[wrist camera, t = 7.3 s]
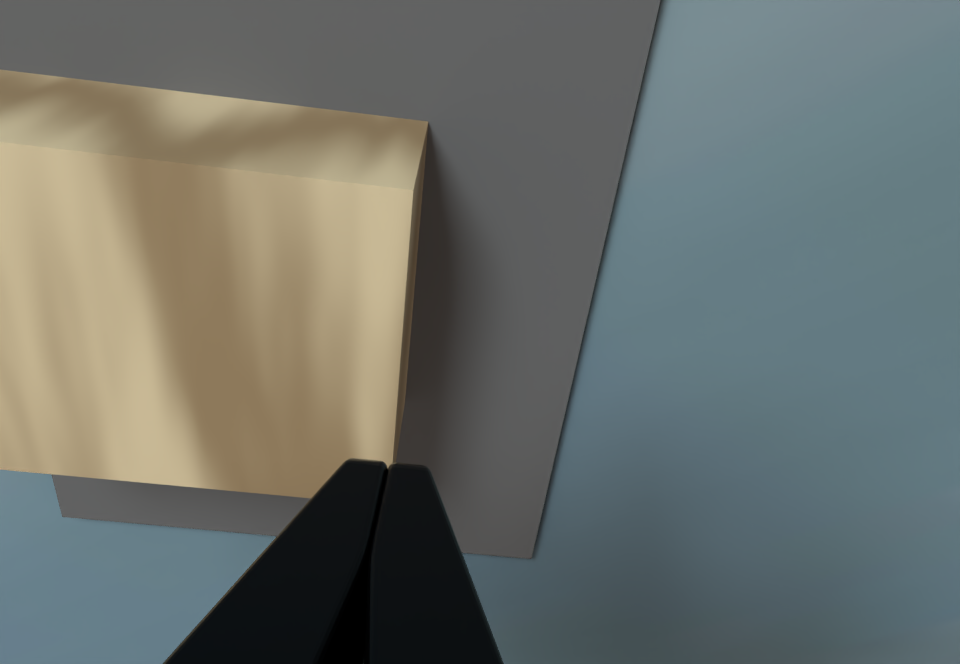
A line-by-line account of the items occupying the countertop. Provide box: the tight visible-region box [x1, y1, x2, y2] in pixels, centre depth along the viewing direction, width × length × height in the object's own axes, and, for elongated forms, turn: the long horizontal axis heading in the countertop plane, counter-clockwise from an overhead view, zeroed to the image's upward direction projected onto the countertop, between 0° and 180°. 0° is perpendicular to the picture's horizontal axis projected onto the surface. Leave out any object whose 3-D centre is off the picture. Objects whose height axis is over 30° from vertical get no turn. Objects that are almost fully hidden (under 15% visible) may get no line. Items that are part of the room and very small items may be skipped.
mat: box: [0, 0, 660, 559], centre depth 19 cm, size 15×20×1 cm
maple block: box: [0, 70, 428, 498], centre depth 17 cm, size 4×8×10 cm
